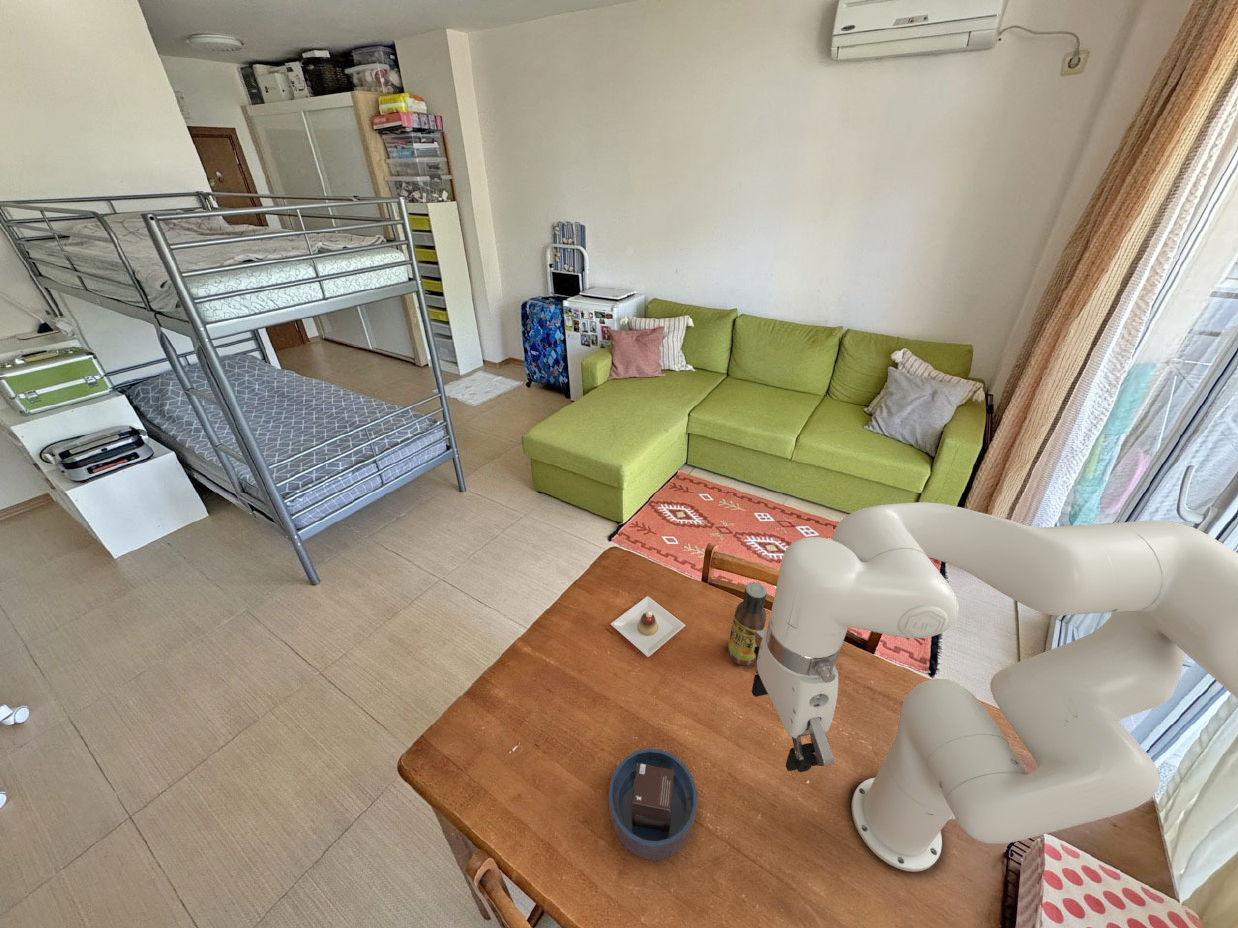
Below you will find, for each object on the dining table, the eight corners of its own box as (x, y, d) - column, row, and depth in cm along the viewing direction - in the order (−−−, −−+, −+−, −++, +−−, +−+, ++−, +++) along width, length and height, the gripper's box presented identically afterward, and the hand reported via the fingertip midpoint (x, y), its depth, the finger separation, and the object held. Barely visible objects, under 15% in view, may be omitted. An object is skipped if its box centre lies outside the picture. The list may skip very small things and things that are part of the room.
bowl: (680, 757, 87) (681, 740, 84) (706, 849, 76) (709, 833, 73) (603, 774, 85) (602, 757, 82) (618, 871, 74) (617, 855, 71)
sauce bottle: (721, 653, 105) (730, 587, 94) (738, 637, 108) (749, 571, 98) (746, 673, 101) (759, 606, 90) (764, 655, 104) (778, 588, 94)
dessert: (648, 660, 104) (648, 645, 101) (610, 626, 111) (609, 612, 109) (685, 628, 111) (686, 613, 108) (647, 598, 118) (647, 584, 116)
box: (668, 833, 77) (670, 811, 73) (630, 825, 78) (630, 803, 74) (673, 791, 82) (674, 769, 78) (637, 784, 83) (637, 761, 79)
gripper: (884, 706, 47) (845, 793, 56) (795, 577, 61) (776, 663, 71) (811, 722, 46) (784, 808, 55) (739, 587, 60) (726, 673, 70)
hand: (779, 727), depth 63 cm, fingers open, 9 cm apart
